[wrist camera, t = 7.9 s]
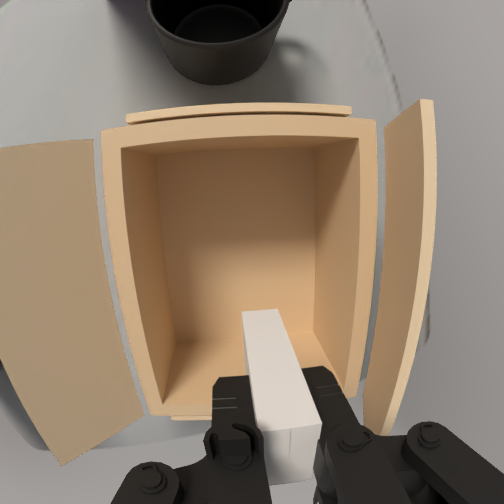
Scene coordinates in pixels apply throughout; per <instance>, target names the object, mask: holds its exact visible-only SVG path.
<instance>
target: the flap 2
mask: <svg viewBox="0 0 504 504" xmlns="http://www.w3.org/2000/svg"><path fill="white" fill-rule="evenodd" d="M384 135H385V163H386V204H385V233H384V250H383V263H382V275H381V285H380V294H379V303H378V311H377V318H376V326H375V332H374V339H373V345H372V351H371V357H370V362H369V367H368V373H367V378H366V383H365V387H364V392H363V411H364V413H363V414H364V426H365V427H367V428H369V429H370V430H371V431H372V432H373V433H374V434H376V435H380V436H389V435H390V432H391V430H392V427H393V424H394V421H395V419H396V416H397V412H398V410H399V407H400V404H401V401H402V398H403V394H404V391H405V388H406V384H407V381H408V378H409V374H410V370H411V367H412V363H413V359H414V355H415V351H416V347H417V343H418V338H419V334H420V329H421V324H422V320H423V314H424V309H425V303H426V298H427V292H428V285H429V278H430V271H431V263H432V254H433V244H434V232H435V217H436V193H437V156H436V134H435V119H434V107H433V100H427V99H419V100H418V101H417V102H415V103H414V104H413V105H411V106H410V107H409V108H408V109H406V110H405V111H404V112H403V113H401V114H400V115H399V116H398V117H397V118H395V119H394V120H393V121H392V122H390V123H389V124H388V125H387V126H385V127H384Z"/></svg>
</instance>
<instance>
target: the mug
mask: <svg viewBox="0 0 504 504" xmlns="http://www.w3.org/2000/svg"><path fill="white" fill-rule="evenodd" d="M291 1H292V0H146V11H147V15H148V17H149V20H150V22H151V24H152V26H153V28H154V30H155V32H156V34H157V36H158V38H159V40H160V42H161V44H162V46H163V48H164V50H165V52H166V54H167V56H168V58H169V60H170V62H171V64H172V65H173V67H174V68H175V69H176V70H177V71H178V72H179V73H180V74H182V75H183V76H185V77H186V78H188V79H190V80H193V81H195V82H199V83H202V84H209V85H222V84H229V83H233V82H237V81H239V80H242V79H244V78H246V77H248V76H250V75H251V74H253V73H254V72H255V71H256V70H258V69H259V68H260V66H261V65H262V64H263V63H264V61H265V60H266V58H267V56H268V54H269V51H270V49H271V47H272V44H273V42H274V39H275V37H276V35H277V32H278V30H279V28H280V25H281V23H282V21H283V18H284V16H285V14H286V12H287V9H288V5H289V2H291Z"/></svg>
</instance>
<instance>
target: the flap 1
mask: <svg viewBox="0 0 504 504" xmlns="http://www.w3.org/2000/svg"><path fill="white" fill-rule="evenodd" d="M0 359H1V361H2V364H3V366H4V368H5V370H6V373H7V375H8V377H9V379H10V381H11V383H12V385H13V387H14V389H15V391H16V393H17V395H18V397H19V399H20V401H21V403H22V405H23V407H24V408H25V410H26V412H27V414H28V415H29V417H30V419H31V421H32V422H33V424H34V426H35V427H36V429H37V431H38V432H39V434H40V435H41V437H42V438H43V440H44V442H45V443H46V445H47V446H48V448H49V449H50V451H51V452H52V453H53V455H54V456H55V458H56V459H57V461H58V462H59V463H60V464H61V466H63V465H65V464H66V463H68V462H70V461H72V460H73V459H75V458H77V457H78V456H80V455H82V454H83V453H85V452H87V451H88V450H90V449H92V448H93V447H95V446H97V445H98V444H100V443H102V442H103V441H105V440H106V439H108V438H110V437H111V436H113V435H114V434H116V433H117V432H119V431H121V430H122V429H124V428H125V427H127V426H128V425H130V424H131V423H133V422H134V421H136V420H138V419H139V418H141V417H142V416H144V412H143V409H142V407H141V404H140V401H139V398H138V395H137V392H136V389H135V386H134V382H133V379H132V376H131V373H130V369H129V366H128V362H127V359H126V355H125V352H124V348H123V344H122V340H121V337H120V333H119V329H118V324H117V320H116V316H115V312H114V307H113V302H112V298H111V293H110V288H109V283H108V277H107V272H106V266H105V260H104V254H103V247H102V240H101V233H100V225H99V217H98V207H97V197H96V185H95V171H94V150H93V139H84V140H69V141H56V142H45V143H36V144H27V145H19V146H12V147H5V148H0Z"/></svg>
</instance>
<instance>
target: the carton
mask: <svg viewBox="0 0 504 504" xmlns="http://www.w3.org/2000/svg"><path fill="white" fill-rule="evenodd" d="M351 114H352V111H351V106H340V105H327V104H309V103H229V104H211V105H197V106H186V107H176V108H167V109H159V110H151V111H144V112H137V113H131V114H126V123H128V124H130V126H124V127H118V128H112V129H106V130H101V150H102V171H103V185H104V197H105V208H106V217H107V226H108V234H109V241H110V248H111V255H112V261H113V267H114V273H115V279H116V284H117V290H118V295H119V300H120V305H121V309H122V314H123V319H124V323H125V327H126V331H127V336H128V340H129V344H130V348H131V351H132V355H133V359H134V363H135V366H136V370H137V373H138V377H139V380H140V383H141V387H142V390H143V393H144V396H145V399H146V402H147V405H148V408H149V411H150V414H151V415H164V416H171V419H172V420H212V387H213V385H214V384H215V382H216V381H217V379H218V378H219V377H228V376H242V375H246V370H245V359H244V344H243V329H242V313H241V312H242V311H256V310H268V309H278V311H279V314H280V316H281V319H282V321H283V324H284V326H285V329H286V331H287V334H288V337H289V339H290V342H291V344H292V347H293V349H294V352H295V355H296V357H297V360H298V362H299V365H300V368H309V367H316V366H322V365H323V366H324V367H326V368H327V369H328V370H330V371H331V372H332V373H333V374H334V376H335V378H336V380H337V382H338V385H340V387H341V389H342V392H343V393H344V395H345V397H346V399H347V398H352V397H356V395H357V390H358V385H359V380H360V374H361V369H362V363H363V357H364V351H365V345H366V338H367V331H368V324H369V316H370V308H371V299H372V289H373V278H374V266H375V252H376V234H377V200H378V172H377V139H376V121H375V120H370V119H360V118H349V117H346V116H349V115H351Z"/></svg>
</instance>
